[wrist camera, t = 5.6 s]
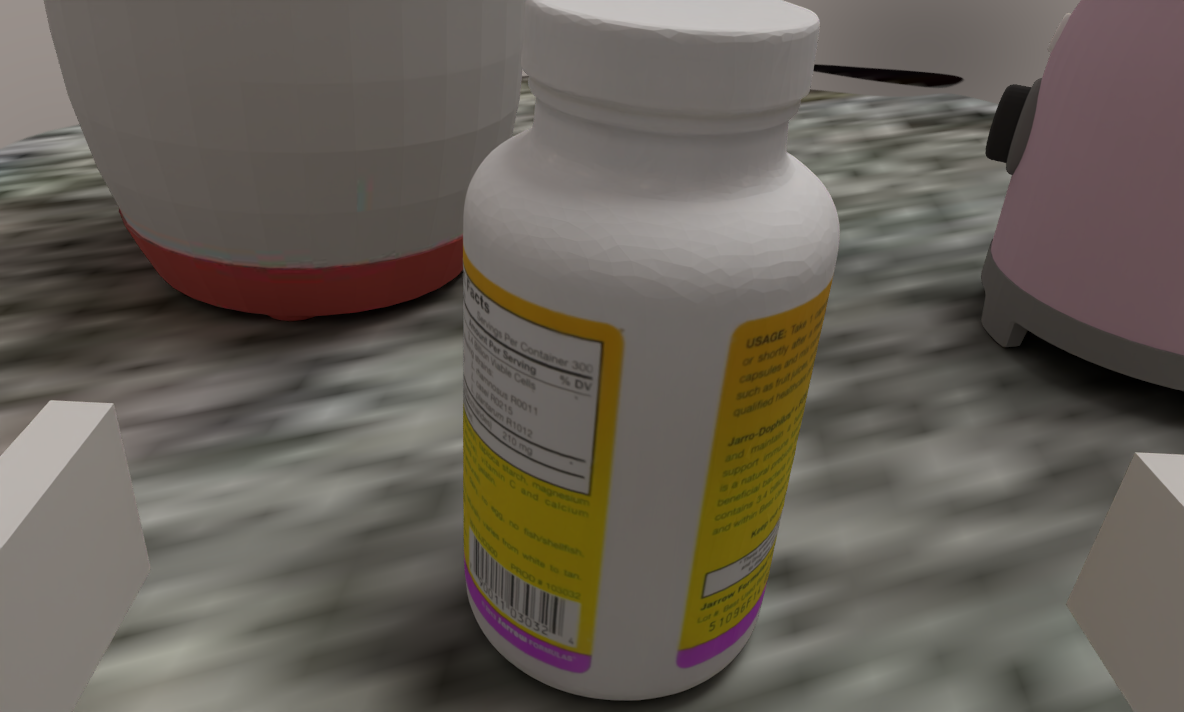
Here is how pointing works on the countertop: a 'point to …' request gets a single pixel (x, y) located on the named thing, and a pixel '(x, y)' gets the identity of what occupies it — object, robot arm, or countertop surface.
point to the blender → (1096, 194)
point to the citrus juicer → (293, 138)
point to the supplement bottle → (640, 339)
